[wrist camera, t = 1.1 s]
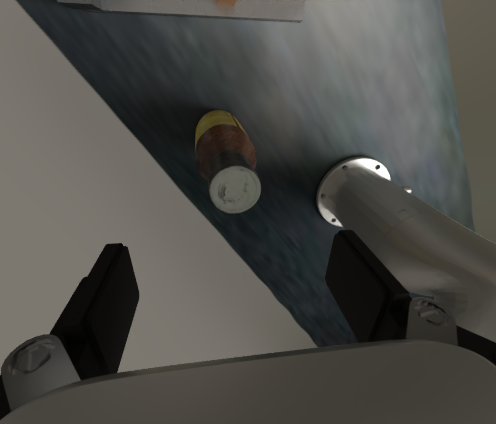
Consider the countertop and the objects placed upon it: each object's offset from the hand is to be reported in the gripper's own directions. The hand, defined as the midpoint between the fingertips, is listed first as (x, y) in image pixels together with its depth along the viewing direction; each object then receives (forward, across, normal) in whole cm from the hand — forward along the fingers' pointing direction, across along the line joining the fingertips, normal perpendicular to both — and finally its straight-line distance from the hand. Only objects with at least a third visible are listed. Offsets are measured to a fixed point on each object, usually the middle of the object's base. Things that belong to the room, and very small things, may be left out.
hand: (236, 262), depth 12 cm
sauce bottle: (+28, 0, 0) cm, 28 cm away
